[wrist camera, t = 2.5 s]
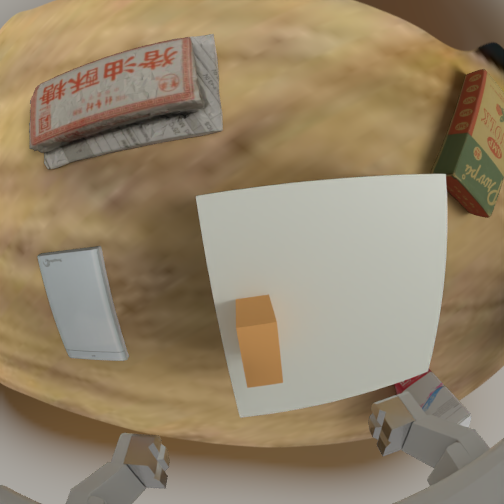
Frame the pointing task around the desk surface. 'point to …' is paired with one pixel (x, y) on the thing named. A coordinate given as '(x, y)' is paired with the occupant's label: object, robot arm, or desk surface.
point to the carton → (475, 145)
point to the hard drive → (83, 303)
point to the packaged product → (128, 101)
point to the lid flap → (325, 285)
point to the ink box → (435, 398)
